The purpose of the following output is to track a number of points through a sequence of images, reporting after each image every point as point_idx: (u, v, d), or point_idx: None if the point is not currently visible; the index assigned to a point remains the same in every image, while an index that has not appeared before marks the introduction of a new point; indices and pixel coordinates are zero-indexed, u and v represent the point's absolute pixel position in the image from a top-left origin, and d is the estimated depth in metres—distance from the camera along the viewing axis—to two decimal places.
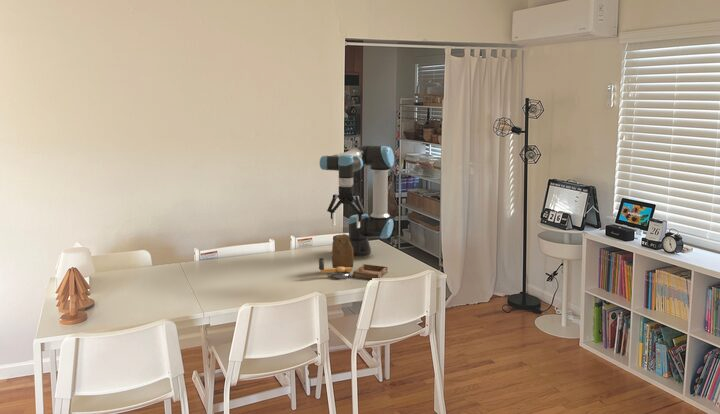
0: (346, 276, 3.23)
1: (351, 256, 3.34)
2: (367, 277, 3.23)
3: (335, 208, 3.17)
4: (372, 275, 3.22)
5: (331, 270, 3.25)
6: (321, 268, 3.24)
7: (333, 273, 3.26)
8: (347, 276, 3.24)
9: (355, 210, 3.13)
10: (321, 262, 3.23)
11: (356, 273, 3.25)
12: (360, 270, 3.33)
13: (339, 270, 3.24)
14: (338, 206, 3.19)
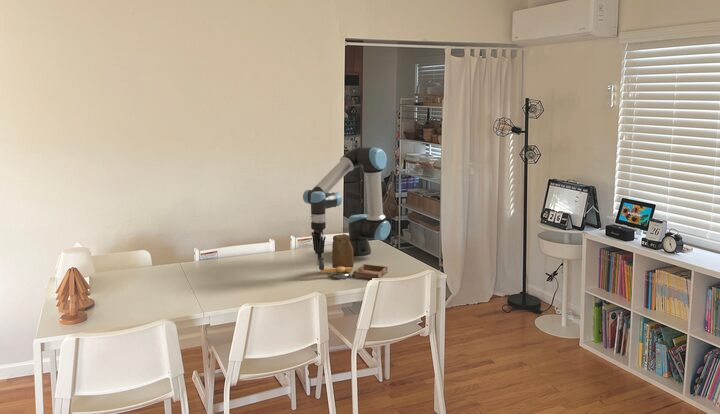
0: (346, 276, 3.23)
1: (351, 256, 3.34)
2: (367, 277, 3.23)
3: (315, 246, 3.26)
4: (372, 275, 3.22)
5: (331, 270, 3.25)
6: (321, 268, 3.24)
7: (333, 273, 3.26)
8: (347, 276, 3.24)
9: (317, 247, 3.24)
10: (321, 262, 3.23)
11: (356, 273, 3.25)
12: (360, 270, 3.33)
13: (339, 270, 3.24)
14: None
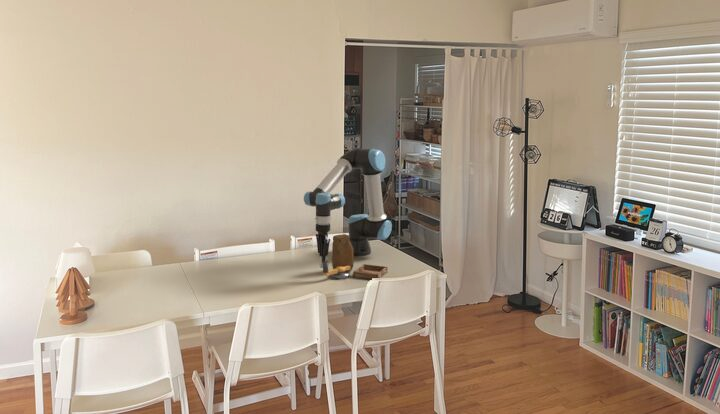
0: (346, 276, 3.23)
1: (351, 256, 3.34)
2: (367, 277, 3.23)
3: (320, 248, 3.20)
4: (372, 275, 3.22)
5: (334, 271, 3.23)
6: (326, 271, 3.19)
7: None
8: (347, 276, 3.24)
9: (321, 249, 3.18)
10: (326, 265, 3.18)
11: (356, 273, 3.25)
12: (360, 270, 3.33)
13: (342, 270, 3.24)
14: None
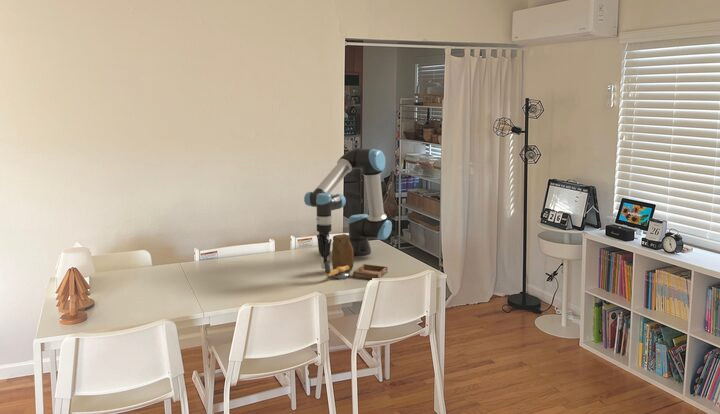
0: (346, 276, 3.23)
1: (351, 256, 3.34)
2: (367, 277, 3.23)
3: (321, 248, 3.19)
4: (372, 275, 3.22)
5: (335, 272, 3.22)
6: (329, 271, 3.18)
7: None
8: (347, 276, 3.24)
9: (322, 250, 3.18)
10: (329, 265, 3.17)
11: (356, 273, 3.25)
12: (360, 270, 3.33)
13: (342, 270, 3.25)
14: None
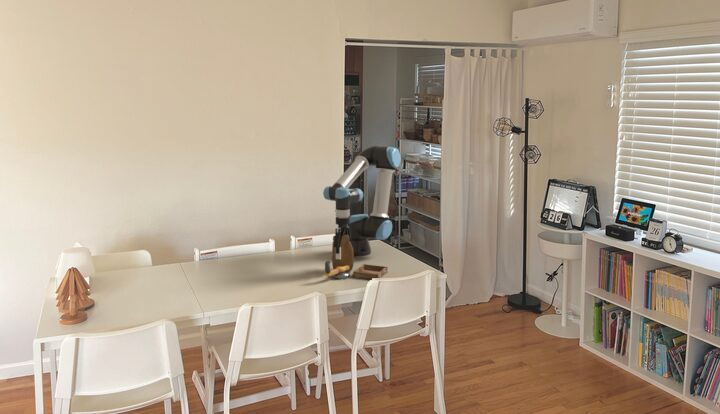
0: (346, 276, 3.23)
1: (351, 256, 3.34)
2: (367, 277, 3.23)
3: None
4: (372, 275, 3.22)
5: (335, 272, 3.22)
6: (329, 271, 3.18)
7: None
8: (347, 276, 3.24)
9: None
10: (329, 265, 3.17)
11: (356, 273, 3.25)
12: (360, 270, 3.33)
13: (342, 270, 3.25)
14: None
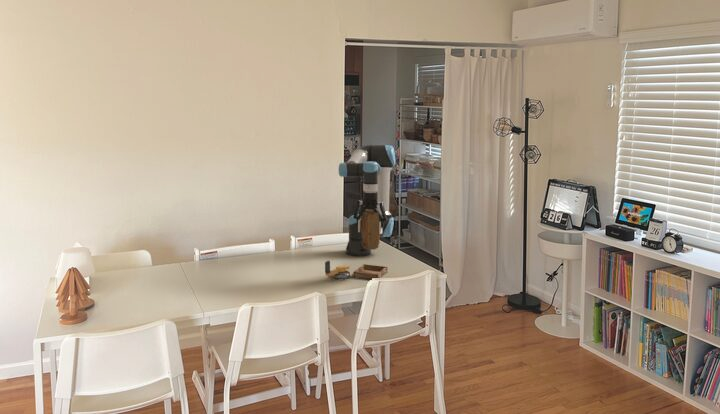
0: (346, 276, 3.23)
1: None
2: (367, 277, 3.23)
3: (361, 214, 3.25)
4: (372, 275, 3.22)
5: (335, 272, 3.22)
6: (329, 271, 3.18)
7: None
8: (347, 276, 3.24)
9: None
10: (329, 265, 3.17)
11: (356, 273, 3.25)
12: (360, 270, 3.33)
13: (342, 270, 3.25)
14: None
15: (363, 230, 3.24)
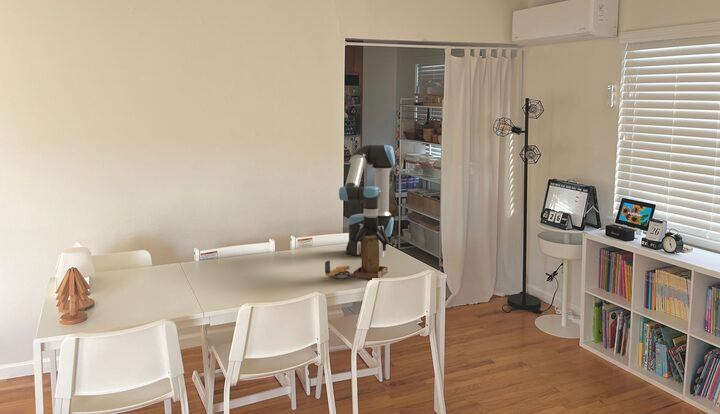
0: (346, 276, 3.23)
1: None
2: (367, 277, 3.23)
3: (360, 237, 3.27)
4: (372, 275, 3.22)
5: (335, 272, 3.22)
6: (329, 271, 3.18)
7: None
8: (347, 276, 3.24)
9: (380, 240, 3.24)
10: (329, 265, 3.17)
11: (356, 273, 3.25)
12: (360, 270, 3.33)
13: (342, 270, 3.25)
14: (363, 235, 3.29)
15: (363, 256, 3.27)
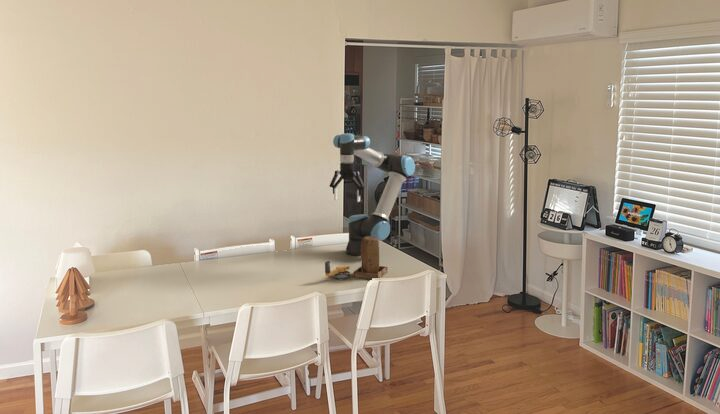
0: (346, 276, 3.23)
1: None
2: (367, 277, 3.23)
3: (337, 183, 3.40)
4: (372, 275, 3.22)
5: (335, 272, 3.22)
6: (329, 271, 3.18)
7: None
8: (347, 276, 3.24)
9: (355, 185, 3.36)
10: (329, 265, 3.17)
11: (356, 273, 3.25)
12: (360, 270, 3.33)
13: (342, 270, 3.25)
14: None
15: (363, 256, 3.27)
